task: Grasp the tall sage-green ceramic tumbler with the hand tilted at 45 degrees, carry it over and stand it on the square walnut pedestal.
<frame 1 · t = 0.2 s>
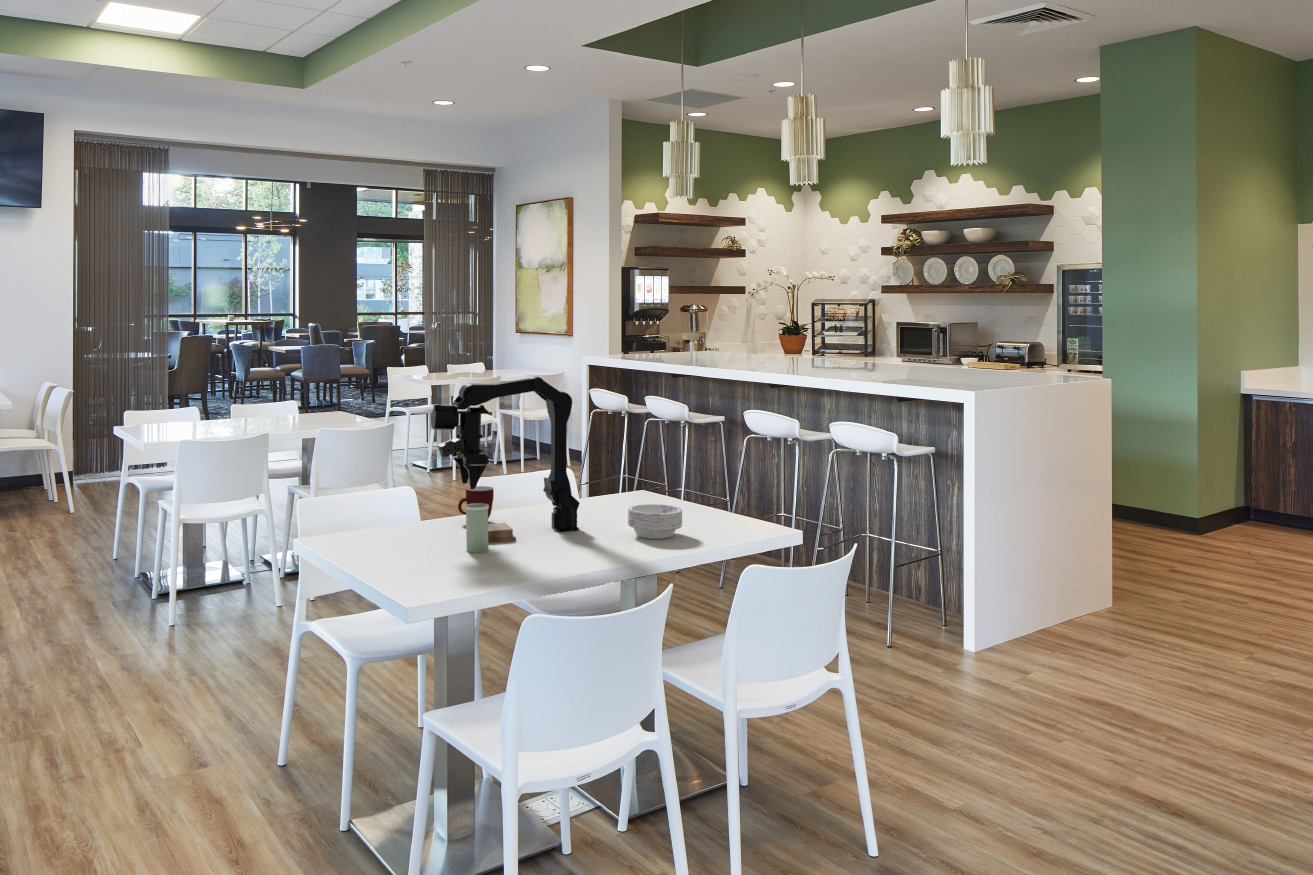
hand: (468, 486, 274), 14 cm above the table, tool pointing down, fingers open, 9 cm apart
tumbler: (477, 550, 260), on the table
pedestal: (492, 537, 275), on the table
paper bowls: (654, 536, 279), on the table
mug: (476, 522, 295), on the table
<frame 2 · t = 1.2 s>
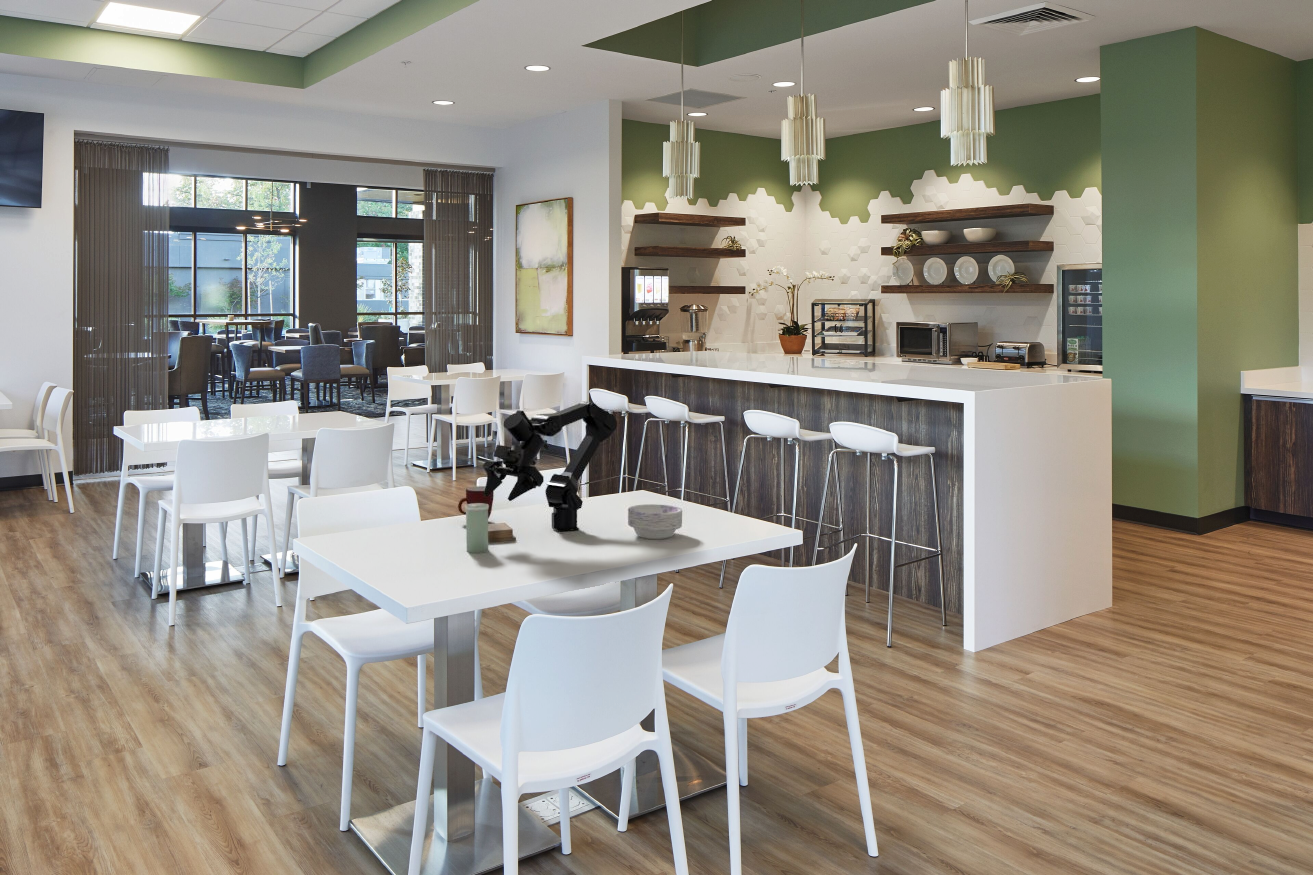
hand: (496, 497, 264), 13 cm above the table, tool tilted 45°, fingers open, 9 cm apart
nothing on the table moved.
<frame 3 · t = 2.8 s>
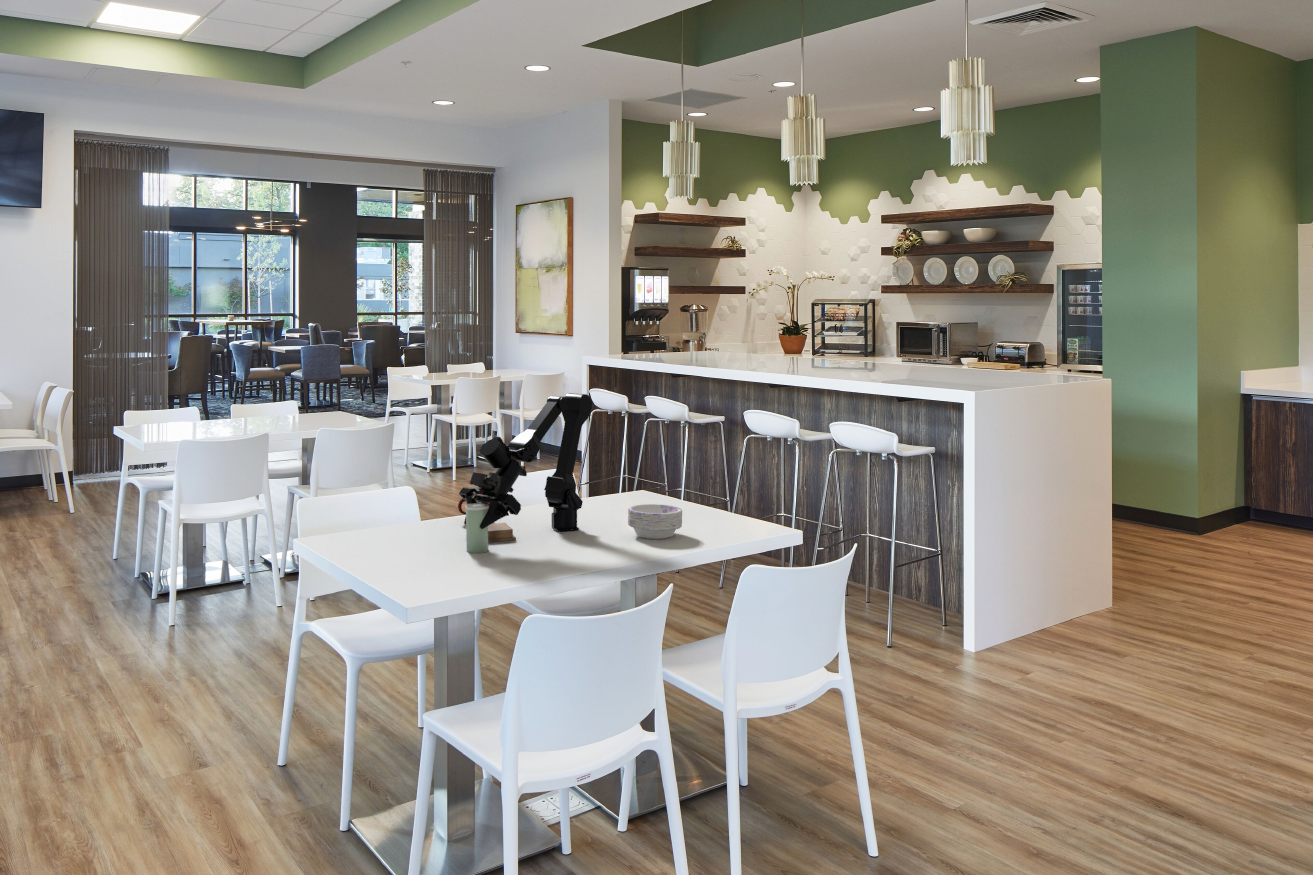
hand: (473, 526, 258), 7 cm above the table, tool tilted 45°, fingers closed on tumbler, 6 cm apart
tumbler: (477, 550, 260), on the table, touching gripper
everything else where it was.
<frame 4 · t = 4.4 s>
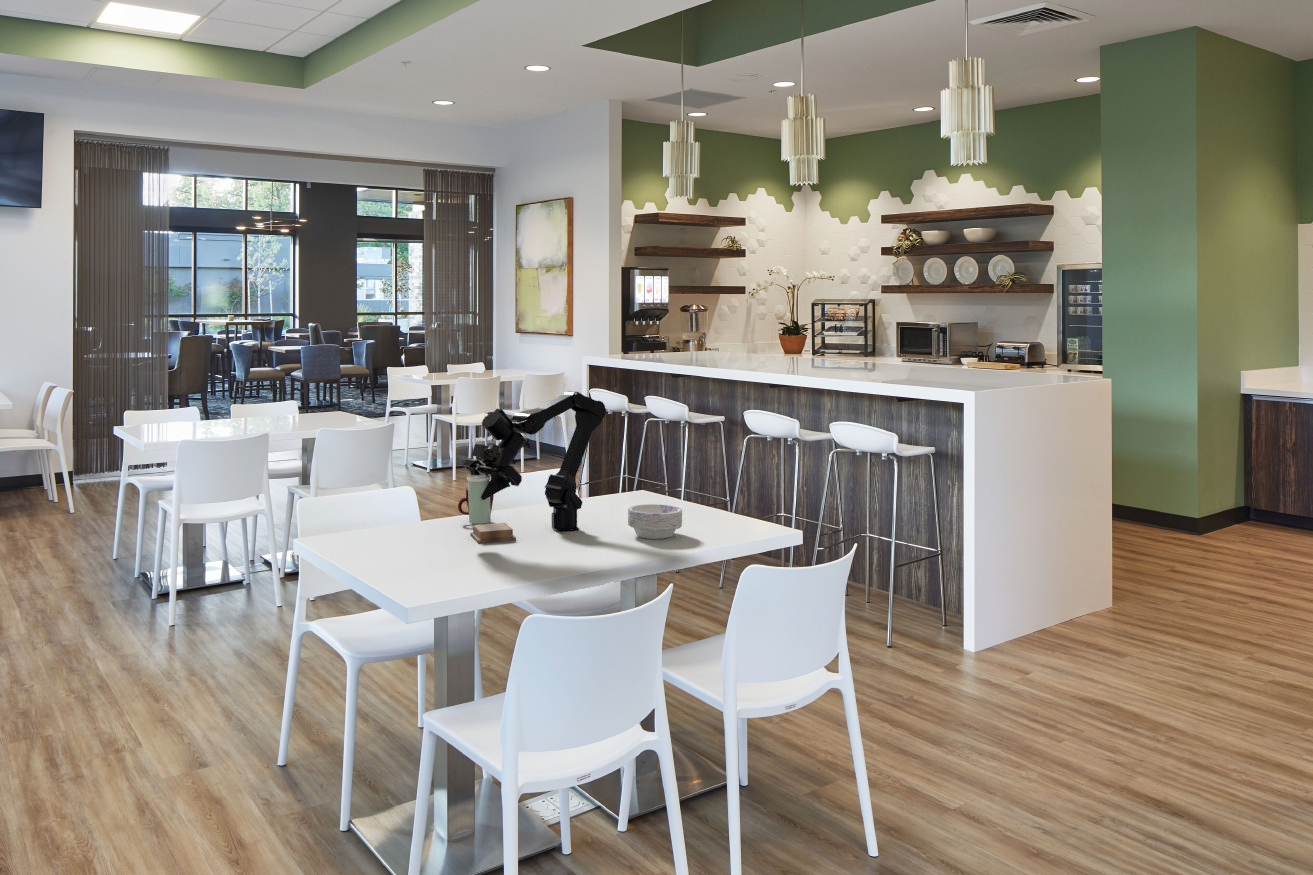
hand: (475, 497, 261), 13 cm above the table, tool tilted 45°, fingers closed on tumbler, 6 cm apart
tumbler: (480, 521, 263), point 7 cm above the table, touching gripper
everything else where it was.
when the fingers open (11 cm above the table, at t = 6.1 s): tumbler drops 1 cm, resting on pedestal.
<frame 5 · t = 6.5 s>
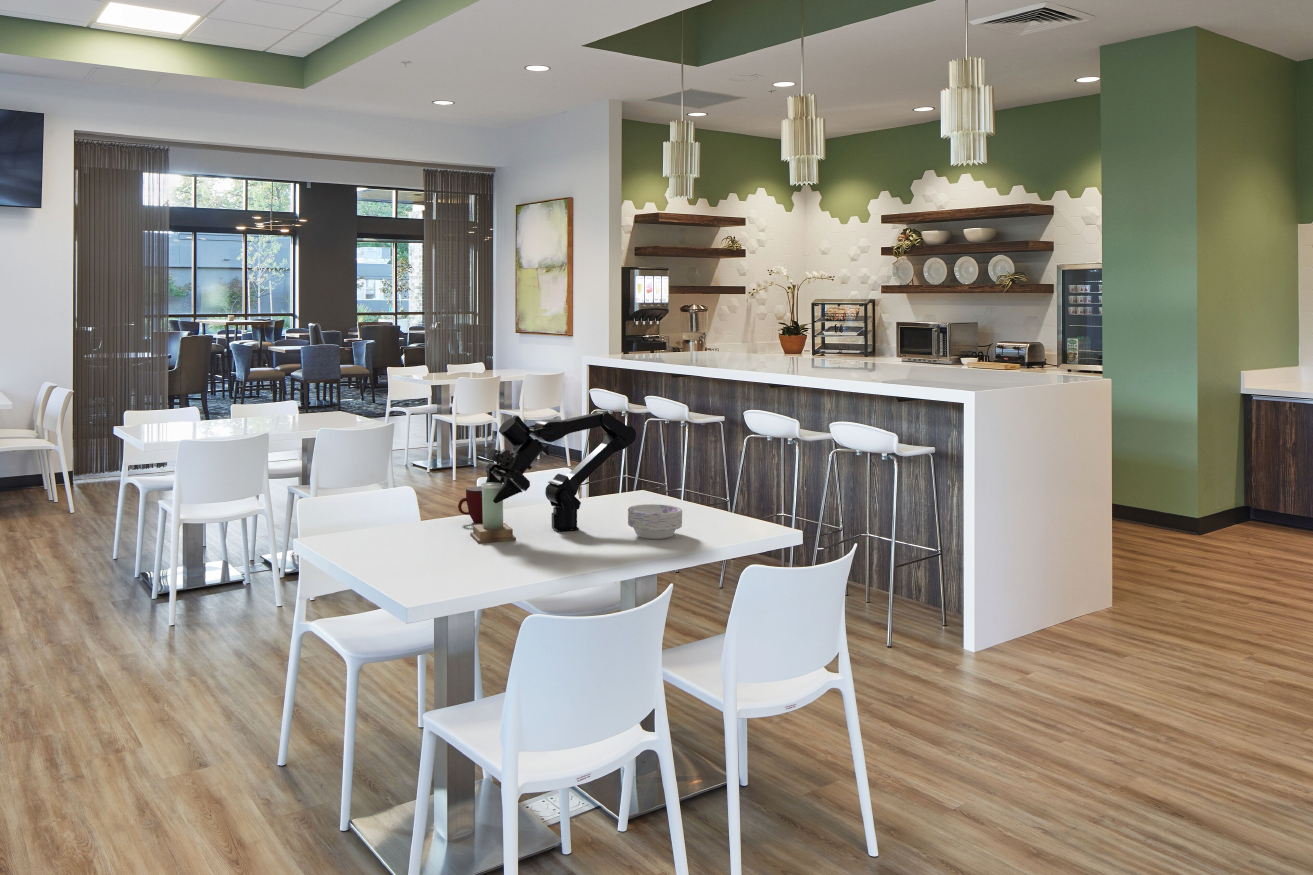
hand: (487, 499, 273), 11 cm above the table, tool tilted 45°, fingers open, 9 cm apart
tumbler: (493, 527, 274), point 3 cm above the table, touching pedestal
everything else where it was.
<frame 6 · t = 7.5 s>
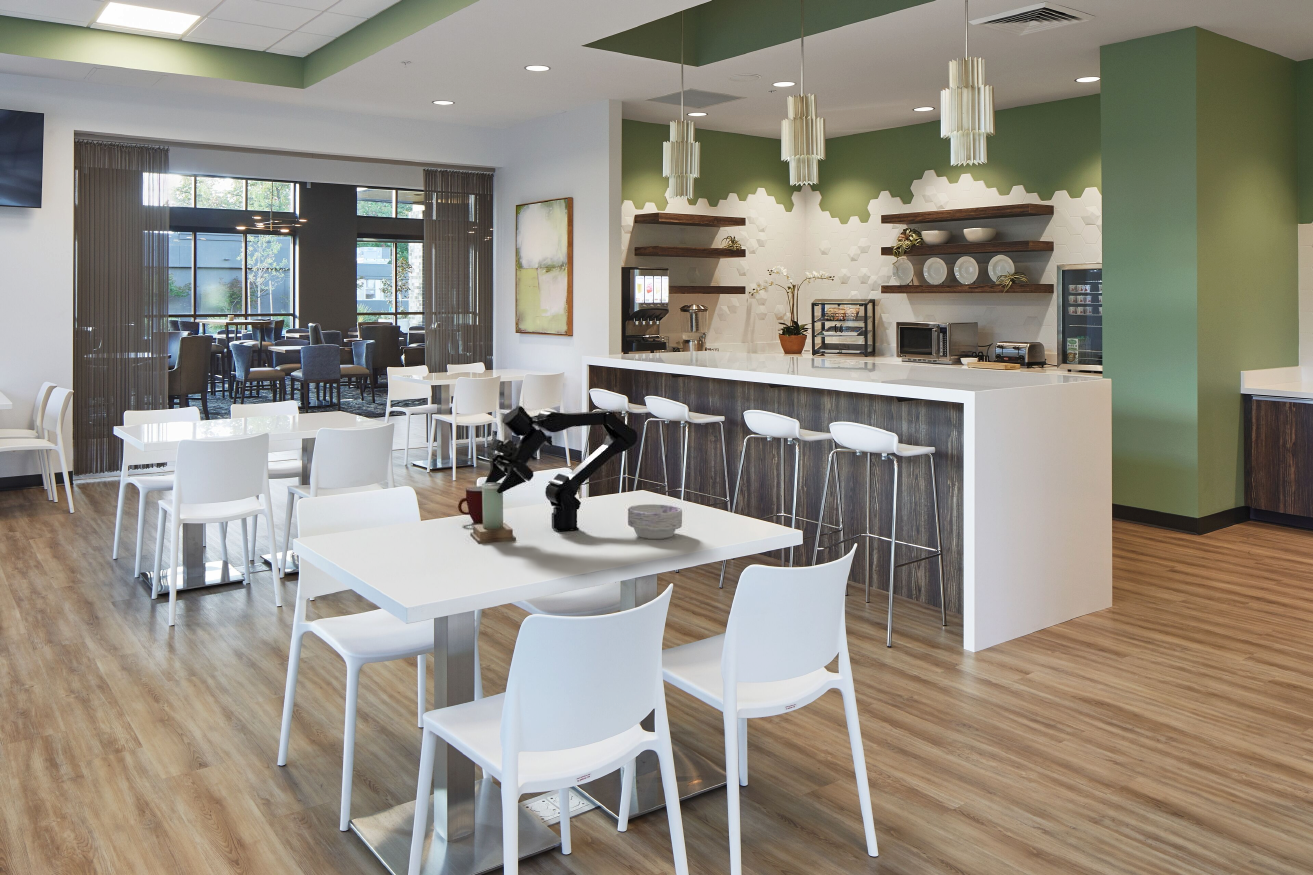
hand: (491, 489, 273), 13 cm above the table, tool tilted 45°, fingers open, 9 cm apart
nothing on the table moved.
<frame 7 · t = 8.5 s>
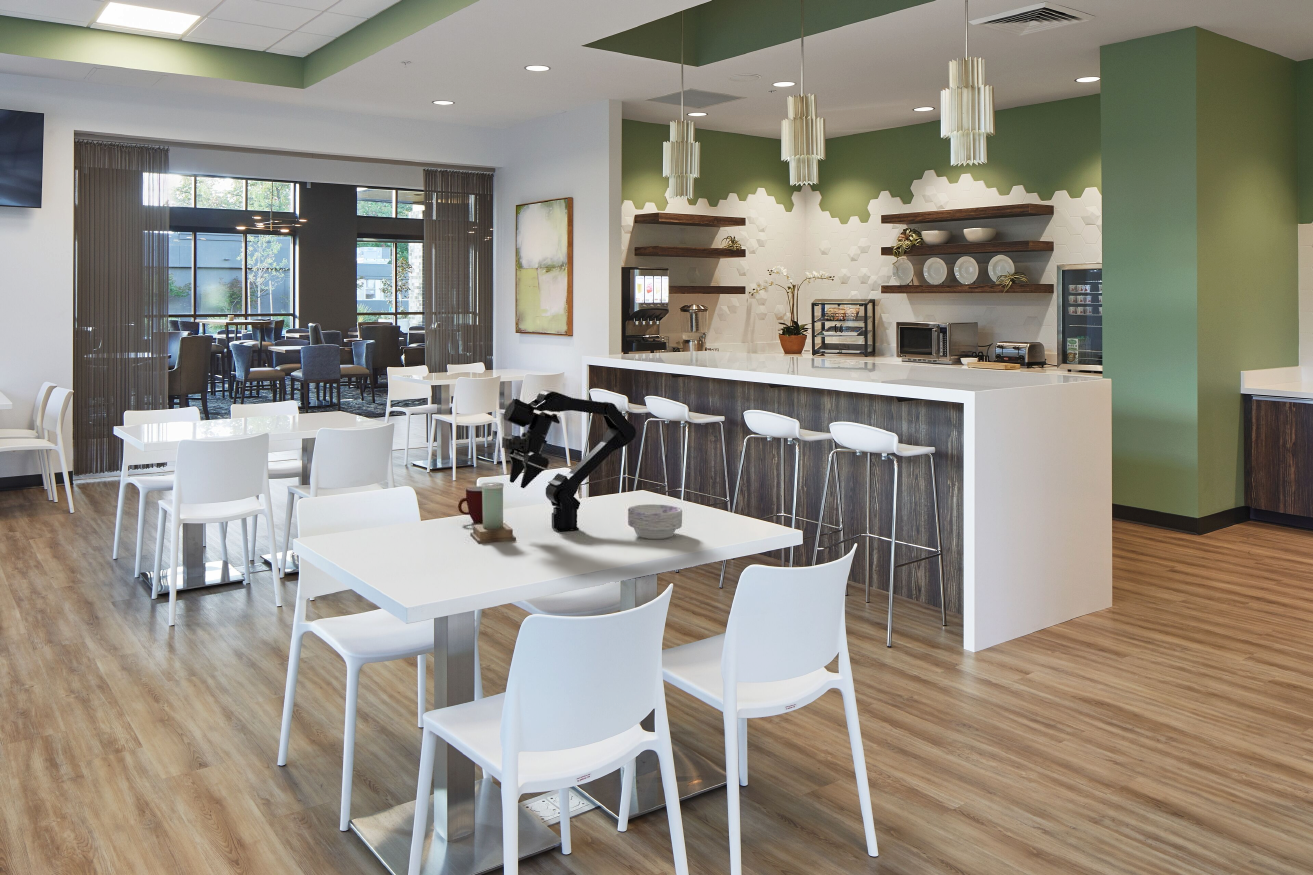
hand: (516, 485, 278), 14 cm above the table, tool tilted 25°, fingers open, 9 cm apart
nothing on the table moved.
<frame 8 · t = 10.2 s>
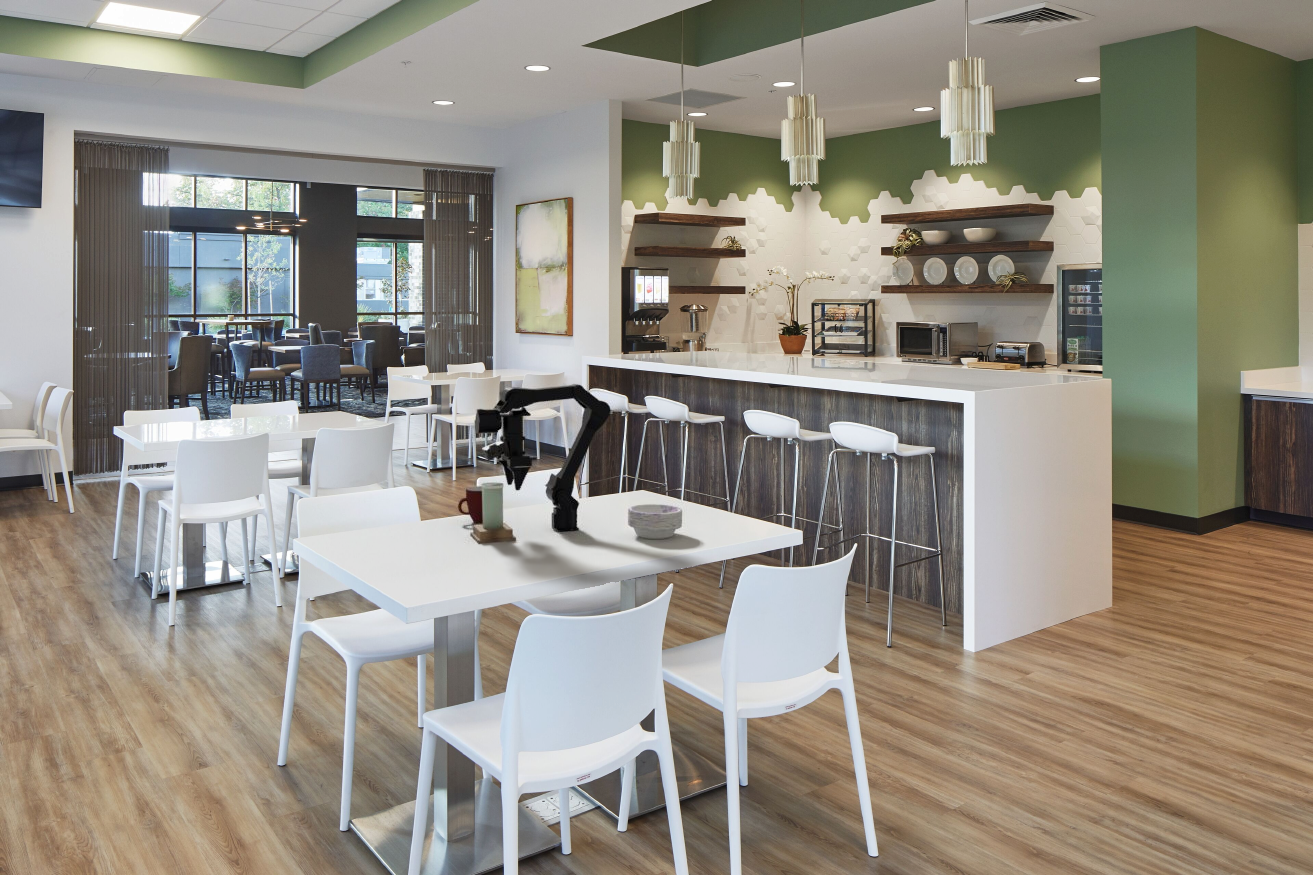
hand: (513, 487, 279), 13 cm above the table, tool pointing down, fingers open, 9 cm apart
nothing on the table moved.
at the end: tumbler 0.1 cm off-centre on the pedestal, point 3.0 cm above the pedestal's base; tumbler tilted 0°; the gripper is holding nothing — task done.
